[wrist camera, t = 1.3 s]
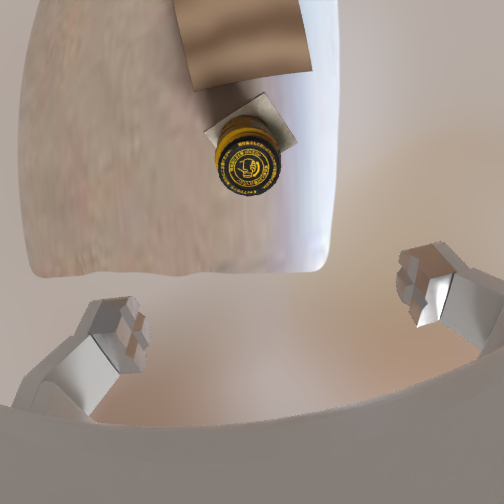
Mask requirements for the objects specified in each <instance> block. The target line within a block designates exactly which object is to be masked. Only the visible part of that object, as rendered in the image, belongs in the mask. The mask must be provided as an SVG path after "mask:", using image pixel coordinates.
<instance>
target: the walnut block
mask: <svg viewBox="0 0 504 504" xmlns="http://www.w3.org/2000/svg"><path fill="white" fill-rule="evenodd" d="M173 4H174V8H175V13H176V17H177V21H178V26H179V30H180V35H181V39H182V43H183V47H184V52H185V56H186V60H187V64H188V69H189V73H190V77H191V81H192V85H193V90H194V92H195V91H199V90H203V89H207V88H211V87H215V86H220V85H224V84H229V83H234V82H239V81H244V80H250V79H256V78H262V77H268V76H275V75H282V74H290V73H298V72H308V71H312V65H311V60H310V54H309V49H308V44H307V39H306V34H305V29H304V24H303V20H302V15H301V11H300V6H299V2H298V0H173Z"/></svg>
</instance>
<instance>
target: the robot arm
mask: <svg viewBox="0 0 504 504" xmlns="http://www.w3.org/2000/svg"><path fill="white" fill-rule="evenodd" d="M399 263H400V264H401V266H402V268H401V269H400V270H399V272H398V273H397V278H396V287H397V292H398V295H399V297H400V299H401V301H402V302H403V303H405V304H407V305H408V306H410V307H409V314H410V316H411V317H412V319H413V320H414V322H415V324H416V325H417V327H418V326H422V325H426V324H429V323H433V322H436V321H439V320H440V322H441V323H442V324H444V325H445V326H447V327H448V328H450V329H451V330H453V331H454V332H455V333H457V334H458V335H460V336H461V337H463V338H464V339H466V340H467V341H468V342H470V343H471V344H473V345H474V346H475V347H477V348H478V349H480V350H481V352H480V354H479V356H478V358H477V359H476V360H474V361H472V362H470V363H468V364H465V365H463V366H461V367H459V368H456V369H454V370H452V371H449V372H447V373H444V374H442V375H439V376H437V377H434V378H432V379H429V380H426V381H424V382H421V383H418V384H415V385H413V386H410V387H407V388H404V389H401V390H398V391H395V392H392V393H389V394H385V395H382V396H378V397H375V398H372V399H368V400H365V401H361V402H357V403H353V404H349V405H345V406H341V407H336V408H332V409H328V410H323V411H318V412H313V413H308V414H302V415H297V416H291V417H285V418H279V419H271V420H264V421H256V422H247V423H237V424H226V425H211V426H185V427H156V426H130V425H115V424H104V423H96V422H95V421H94V420H93V419H91V418H90V417H89V415H90V414H91V412H92V411H93V410H94V408H95V407H96V406H97V404H98V403H99V402H100V400H101V399H102V398H103V397H104V395H105V394H106V393H107V391H108V390H109V389H110V387H111V386H112V385H113V384H114V382H115V381H116V380H117V378H118V377H119V376H120V375H119V374H132V373H143V370H144V365H145V361H146V357H147V356H146V354H145V353H144V350H145V349H146V348H147V347H148V346H149V344H150V339H151V333H150V327H149V323H148V321H147V319H146V317H145V316H144V315H142V314H141V313H139V312H138V311H139V307H140V305H139V303H138V302H137V300H136V298H135V297H132V296H128V297H119V298H110V299H101V300H94V301H92V302H90V303H89V305H88V308H87V309H86V311H85V313H84V315H83V317H82V319H81V321H80V323H79V325H78V328H77V330H76V332H75V334H74V336H70V337H69V338H68V339H66V340H65V341H64V342H63V343H62V344H60V345H59V346H58V347H57V348H56V349H55V350H54V351H52V352H51V353H50V354H49V355H48V356H47V357H46V358H45V359H44V360H42V361H41V362H40V363H39V364H38V365H37V366H36V367H35V368H34V369H33V370H31V371H30V372H29V373H28V374H27V375H26V376H25V377H24V378H23V380H22V382H21V384H20V387H19V389H18V392H17V394H16V397H15V399H14V401H13V404H12V406H11V407H8V406H4V405H0V504H504V281H503V280H501V279H499V278H496V277H494V276H492V275H489V274H487V273H485V272H482V271H480V270H478V269H475V268H471V269H470V268H469V267H468V266H467V265H466V264H465V263H464V262H463V261H462V260H461V259H460V258H459V257H458V256H457V255H456V254H455V252H453V250H452V249H451V248H450V247H449V246H448V245H447V244H446V243H444V242H441V241H439V242H435V243H431V244H428V245H425V246H420V247H415V248H411V249H406V250H402V251H401V253H400V255H399Z"/></svg>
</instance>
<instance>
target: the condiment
mask: <svg viewBox="0 0 504 504" xmlns="http://www.w3.org/2000/svg"><path fill="white" fill-rule="evenodd" d="M256 116H258V117H256ZM259 116H261V117H259ZM204 133H205V135H206V136H207V137H208V138H209V140H210V141H211V142H212V144H213V145H214V146H215V147H216V151H215V163H216V168H217V170H218V173H219V177H220V179H221V181H222V182H223V184H224V185H225V186H226V187H227V188H228V189H229V190H231V191H233V192H234V193H236V194H239V195H244V196H254V195H259V194H262V193H264V192H266V191H267V190H269V189H270V188H271V187H272V186H273V185H274V184H275V183H276V181H277V179H278V178H279V174H280V171H281V154H280V153H281V152H283V151H285V150H286V149H288V148H290V147H292V146H293V145H295V144H297V141H296V140H295V138H294V136H293V135H292V133H291V132H290V130H289V129H288V127H287V126H286V124H285V123H284V121H283V119H282V118H281V116H280V115H279V114H278V112H277V110H276V109H275V107H274V106H273V104H272V103H271V101H270V100H269V98H268V97H267V96H266V94H265V93H264V94H262V95H260V96H259V97H257V98H255V99H254V100H252V101H251V102H249V103H248V104H246V105H244V106H243V107H241V108H240V109H238V110H236V111H235V112H233V113H232V114H230V115H229V116H227V117H226V118H224V119H223V120H221V121H220V122H218V123H217V124H215V125H214V126H212V127H211V128H210V129H208V130H207V131H205V132H204Z"/></svg>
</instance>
